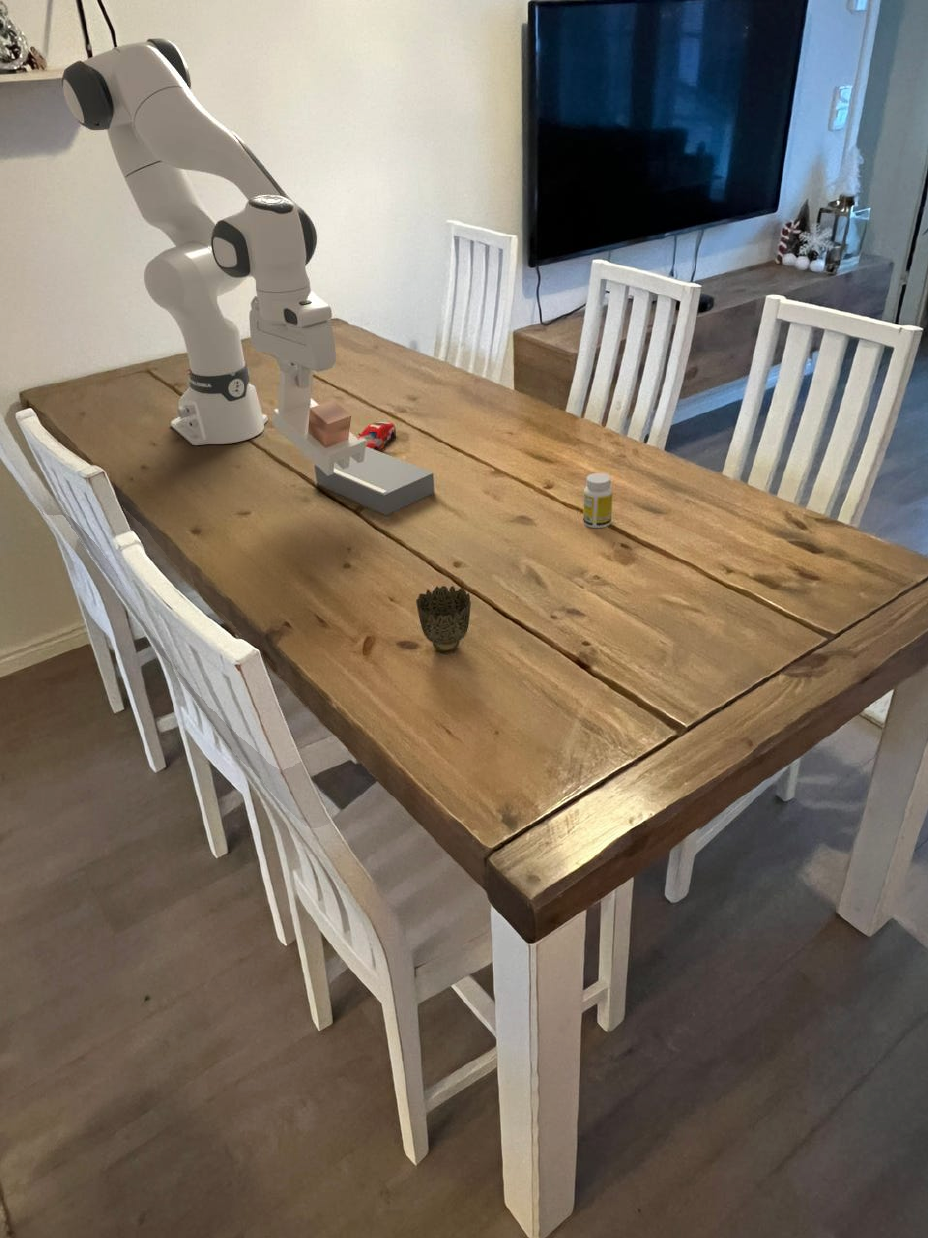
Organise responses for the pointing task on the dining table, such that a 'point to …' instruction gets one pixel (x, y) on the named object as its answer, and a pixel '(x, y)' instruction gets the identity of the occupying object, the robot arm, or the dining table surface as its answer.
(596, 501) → the supplement bottle
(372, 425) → the race car
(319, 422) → the reddish brown cube
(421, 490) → the block
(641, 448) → the dining table surface
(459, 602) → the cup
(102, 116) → the robot arm
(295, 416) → the white stand
